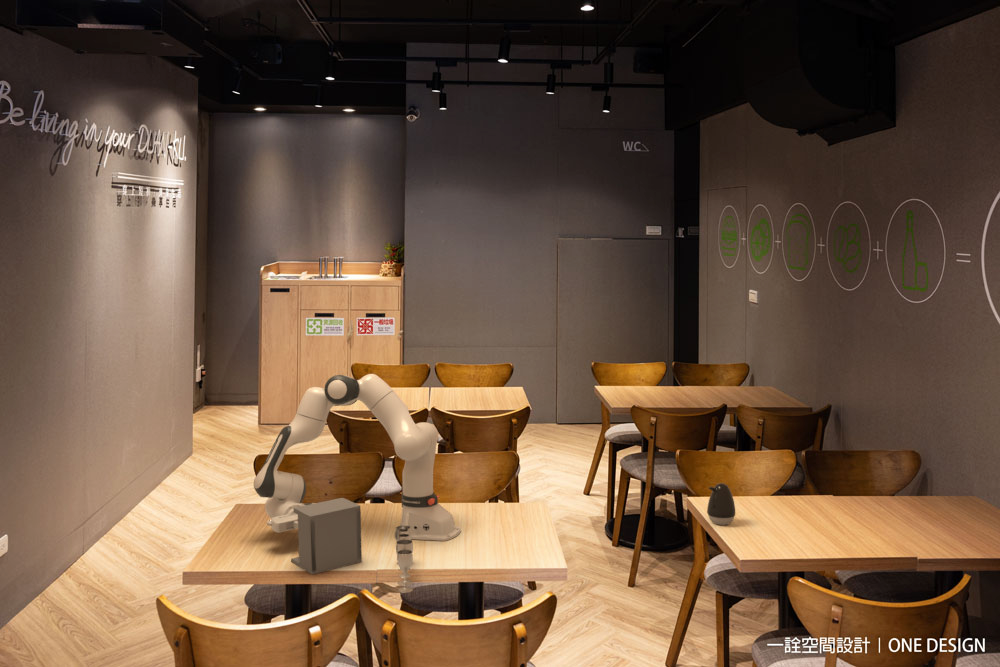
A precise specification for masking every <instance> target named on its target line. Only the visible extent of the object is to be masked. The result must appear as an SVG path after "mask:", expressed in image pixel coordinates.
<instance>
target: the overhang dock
mask: <svg viewBox="0 0 1000 667" xmlns="http://www.w3.org/2000/svg"><path fill="white" fill-rule="evenodd" d="M313 503H314V504H310V505H305V506H300V507H295V508H294V513H296V514H298V529H297V531H298V532H297V533H298V534H297V535H298V556H297V557H293V558H291V559H290V561H291V562H290V563H293V564H295V565H296V566H297V567H299V568H300V569H302V570H304V571H306V572H307V573H309V574H310V575H316V574H320V573H323V572H327V571H331V570H335V569H339V568H343V567H346V566H347V567H348V566H350V565H355V564H359V563H362V562H363V559H362V558H363V556H362V519H361V518H362V517H361V516H362V515H361V511H362V510H361V509H362V508H361V505H360V504H358V503H355V502H353V501H351V500H349V499H348V498H347V499H346V498H345V497H339V498H334V499H329V500H326V501H325V500H324V501H319V502H316V503H315V502H313Z"/></svg>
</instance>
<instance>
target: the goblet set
mask: <svg viewBox="0 0 1000 667" xmlns="http://www.w3.org/2000/svg"><path fill="white" fill-rule="evenodd" d="M411 538H412V531H411V528H410V526H406V525H402V526H400V525H398V526H396V527H395V531H394V540H395V541H396V545H395V551H396V555H397V556H396V560H397V562H396V565H398V572H403V573H400V574H399V575H398V578H400V581H402V582H399V581H398V582H397V584H398V585H399V586H402V587H400V588H398V592H400V593H402V594H405V593H411V592H413V590H414V589H413V587H410V585H413V580H411V579H408V578H410V577H411V576H412V574H410V573H408V572H409V571H411V567H412V565H413V562H414V561H413V560H414V555H413V551H414V545H413V541H412V539H411ZM399 568H400V569H399ZM401 579H402V580H401Z"/></svg>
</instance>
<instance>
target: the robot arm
mask: <svg viewBox="0 0 1000 667" xmlns="http://www.w3.org/2000/svg"><path fill="white" fill-rule="evenodd" d="M358 401H360V402H361V403H363V404H364V405H365V406H366V407H367V408H368V410H369V411H370V412H371V413H372V415H374V417H375V418H376V420H378V421H379V423H380V424H381V425H382V426H383V428H384V429H385V431H386V432H387V434H388V437H389V438H390V439H391V442H392V444H393V447H394V448H393V449H394V452H395V454H396V455H397V457H398V458H399V459H401V460H403V461H404V467H403V470H402V476H401V477H402V493H401V508H402V509H401V510H402V512H401V520H400V525H399V526H402V525H406V526H410V528H411V531H412V538H411V540H421V541H422V540H424V541H425V540H426V541H440V542H442V541H449V540H451V539H454V538H456V537H457V536H458V535H460V534H461V526H459V525H458V526H457V525H455V520H454V519H455V518H454V516H453V514H452V513H451V512H449V511H448V510H447V509H446V508H444V506H442V505H441V504H440V503H439V502H438V499H440V494H438V495H437V494H435V492H434V465H435V458H436V453H437V452H436V451H437V443H438V439H439V430H438V429H437V427H436V426H435V425H434V424H432V423H430V422H424V421H422V422H418V423H415V422H414V419H413V418H412V416H411V414H410V412H409V408H408V406H407V404H406V403H405V402H404V401H403V400H402V399H401V397H400V396H399V395H398V394H397V393H396V391H395V390H394V389H393V388H392V387H391V386H390V385H389V384H388V383H387V382H386V381H385V380H384V379H382V378H381V377H380V376H378V375H377V374H376V373H368V374H366V375H364V376H362V377H361V378H359V379H355V378H353V377H351V376H349V375H345V374H337V375H336V374H335V375H333V376H331V377H330V378H328V380H326V382H325V384H324V386H323V387H319V386H312V387H310V388H308V389H306V391H305V392H304V394H303V395H302V399H301V400H300V402H299V404H298V407H297V410H296V414H295V416H294V418H293V419H292V420H291V422H290V423H289V424H288V425H286V426H283V428H282V429H281V430H280V431H279V433H278V435H277V437H276V439H275V440H274V442H273V444H272V447H271V449H270V451H269V453H268V454H267V457H266V459H265V461H264V463H263V464H262V467H261V468H260V469H259V470H258V472H257V473H256V475H255V478H254V481H253V489H254V490H255V492H256V493H257V496H259V497H260V498H268V499H267V500H266V501H265V503H264V509H265V512H266V515H267V516H268V517H269V518H270V519H269V520H268V521H266V525H268V526H270V527H271V530H272V531H273V532H275V533H283V532H287V531H293V530H298V514H296V513H294V508H295V507H300V506H305V505H310V504H314V503H315V502H305V503H303V502H304V499H305V497H306V493H307V483H306V481H305V478H304V477H303V476H302V475H301V474H297V473H293V472H285V471H282V470H281V471H280V470H278V469H279V466H280V465H281V463H282V461H283V459H284V456H285V454H286V452H287V451H288V449H290V448H291V447H292V446H295V445H298V444H303V443H309V442H312V441H314V440H316V439H317V438H319V437H320V436H321V435H322V433H323V431H324V430H325V426H326V422H327V419H328V417H329V414H330V411H331V410H332V408H333V407H337V406H338V407H339V406H340V407H348V406H351V405H353V404H355V403H356V402H358Z"/></svg>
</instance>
